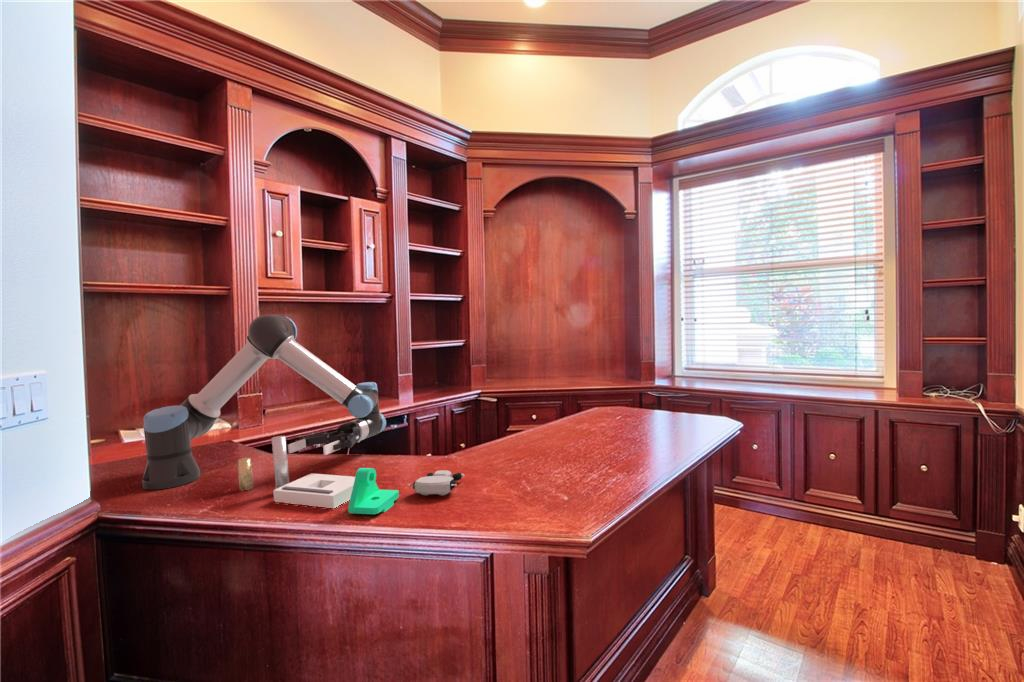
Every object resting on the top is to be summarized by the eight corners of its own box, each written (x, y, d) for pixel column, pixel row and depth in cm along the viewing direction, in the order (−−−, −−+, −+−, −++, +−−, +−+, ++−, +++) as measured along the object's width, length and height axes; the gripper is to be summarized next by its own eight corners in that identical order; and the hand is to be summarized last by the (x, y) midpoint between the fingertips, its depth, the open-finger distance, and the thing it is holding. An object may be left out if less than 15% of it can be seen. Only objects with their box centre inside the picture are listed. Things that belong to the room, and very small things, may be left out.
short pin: (242, 487, 145) (239, 458, 145) (255, 486, 146) (252, 456, 146) (238, 492, 142) (235, 461, 141) (251, 490, 143) (249, 460, 142)
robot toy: (426, 484, 142) (407, 499, 128) (426, 468, 143) (406, 482, 128) (467, 484, 140) (452, 500, 126) (466, 468, 141) (451, 482, 126)
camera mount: (377, 519, 117) (374, 477, 117) (349, 517, 119) (346, 476, 119) (400, 500, 129) (398, 461, 128) (374, 498, 131) (372, 461, 130)
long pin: (277, 491, 140) (273, 436, 140) (291, 489, 141) (286, 435, 140) (274, 495, 137) (270, 439, 136) (288, 493, 138) (284, 438, 137)
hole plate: (274, 502, 131) (273, 488, 131) (312, 484, 144) (311, 472, 144) (334, 509, 124) (332, 494, 124) (368, 489, 137) (367, 476, 137)
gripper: (383, 444, 163) (340, 463, 144) (324, 441, 172) (276, 460, 152) (381, 422, 163) (338, 438, 143) (322, 420, 172) (274, 436, 152)
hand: (306, 449), depth 148 cm, fingers open, 13 cm apart
